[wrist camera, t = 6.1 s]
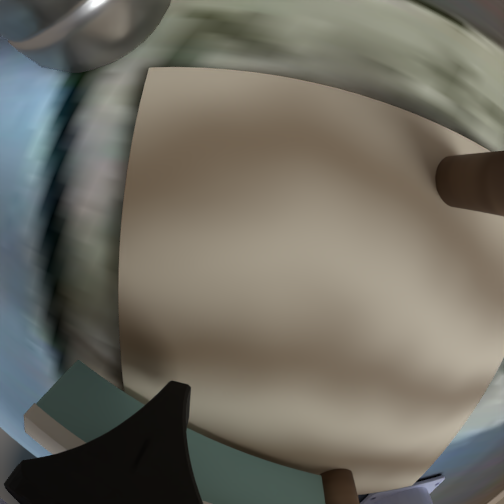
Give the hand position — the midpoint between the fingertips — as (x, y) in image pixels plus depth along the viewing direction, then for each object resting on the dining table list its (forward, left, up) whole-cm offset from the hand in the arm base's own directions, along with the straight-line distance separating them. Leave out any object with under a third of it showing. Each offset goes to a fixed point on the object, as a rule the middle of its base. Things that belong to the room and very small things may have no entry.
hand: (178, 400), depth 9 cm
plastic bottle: (+15, +6, -3) cm, 16 cm away
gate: (-4, -1, -1) cm, 4 cm away
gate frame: (+1, -7, -2) cm, 7 cm away
